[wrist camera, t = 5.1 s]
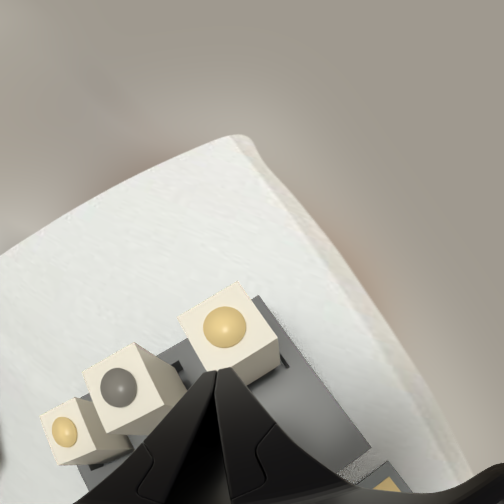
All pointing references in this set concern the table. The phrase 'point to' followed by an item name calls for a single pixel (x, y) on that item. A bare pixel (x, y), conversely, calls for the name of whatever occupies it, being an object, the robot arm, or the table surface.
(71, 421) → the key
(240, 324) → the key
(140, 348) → the middle key
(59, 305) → the table surface
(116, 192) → the table surface
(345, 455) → the console
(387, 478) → the card
